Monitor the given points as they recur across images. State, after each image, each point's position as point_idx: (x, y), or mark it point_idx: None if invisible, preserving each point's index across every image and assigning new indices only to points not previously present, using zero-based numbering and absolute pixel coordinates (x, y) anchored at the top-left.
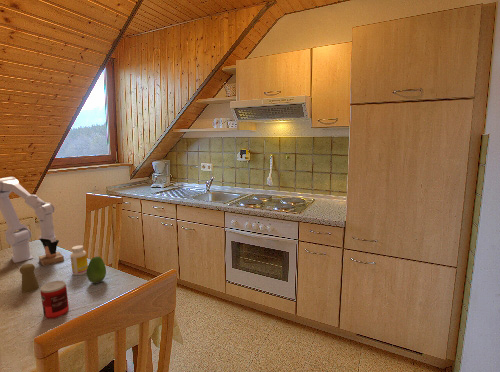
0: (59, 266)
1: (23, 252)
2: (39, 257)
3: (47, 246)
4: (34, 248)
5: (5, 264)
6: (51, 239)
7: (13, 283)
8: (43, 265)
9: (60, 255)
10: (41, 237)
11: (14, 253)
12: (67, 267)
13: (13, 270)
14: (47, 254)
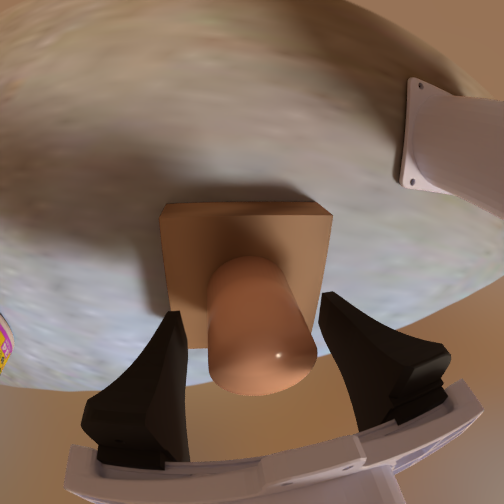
0: (91, 283)
1: (453, 145)
2: (304, 214)
3: (282, 350)
4: (492, 235)
5: (424, 45)
6: (66, 480)
7: (27, 29)
8: (170, 205)
9: (207, 339)
10: (263, 489)
11: (473, 98)
12: (56, 309)
13: (268, 18)
14: (223, 286)
